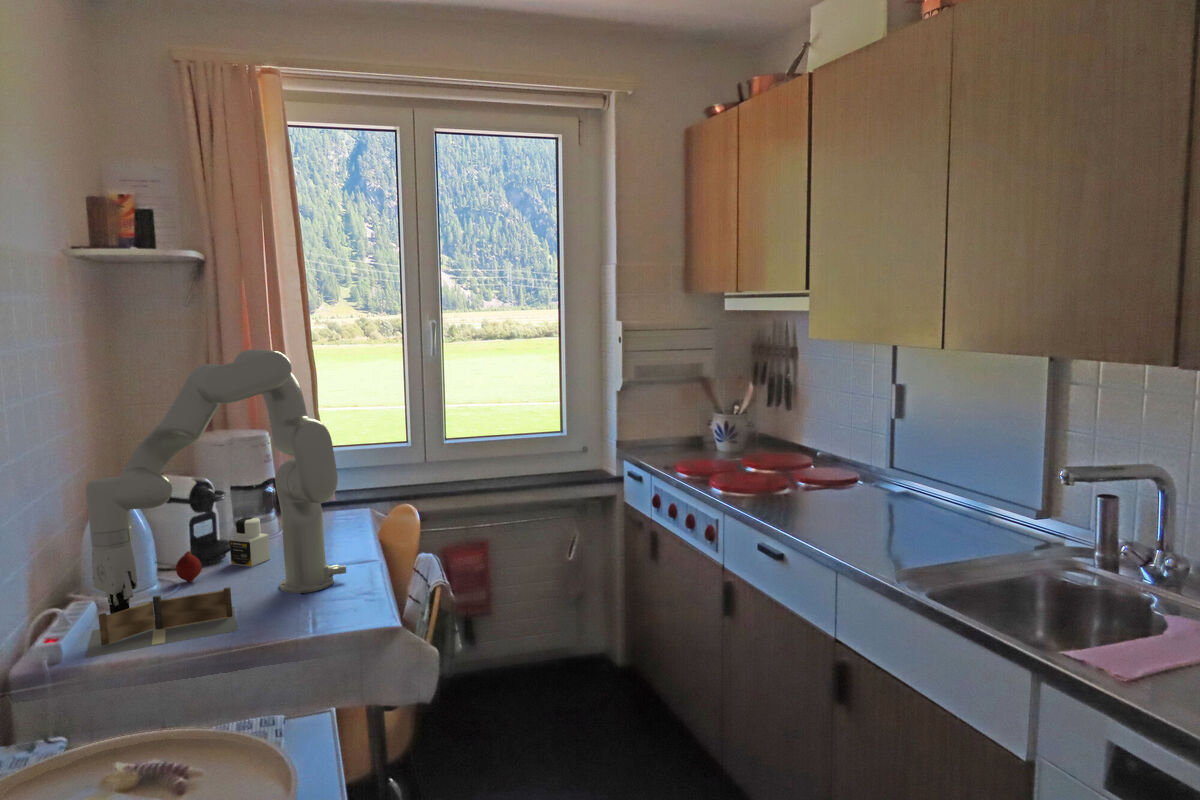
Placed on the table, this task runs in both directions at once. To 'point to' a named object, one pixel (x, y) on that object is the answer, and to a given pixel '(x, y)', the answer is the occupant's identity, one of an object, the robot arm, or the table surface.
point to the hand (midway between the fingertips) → (121, 621)
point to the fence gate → (126, 623)
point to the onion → (188, 567)
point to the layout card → (161, 636)
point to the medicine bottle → (249, 543)
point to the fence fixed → (192, 608)
